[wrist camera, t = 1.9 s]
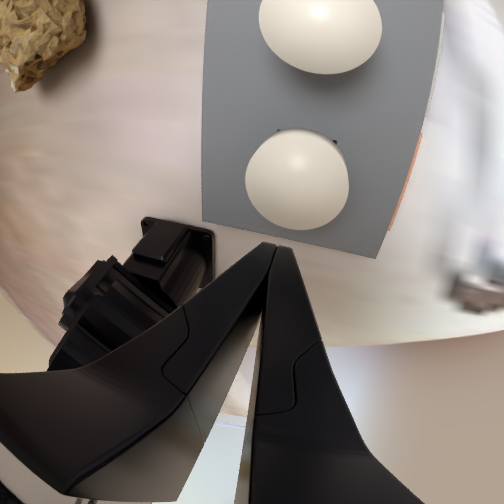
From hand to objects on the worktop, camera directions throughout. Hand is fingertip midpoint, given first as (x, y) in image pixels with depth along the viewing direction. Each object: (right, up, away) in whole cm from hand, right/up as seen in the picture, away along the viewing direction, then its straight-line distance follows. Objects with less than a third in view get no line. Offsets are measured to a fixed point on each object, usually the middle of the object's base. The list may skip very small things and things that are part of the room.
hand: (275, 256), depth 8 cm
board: (+3, +12, +3) cm, 13 cm away
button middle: (+3, +11, +2) cm, 11 cm away
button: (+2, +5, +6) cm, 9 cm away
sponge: (-19, +23, +2) cm, 30 cm away
